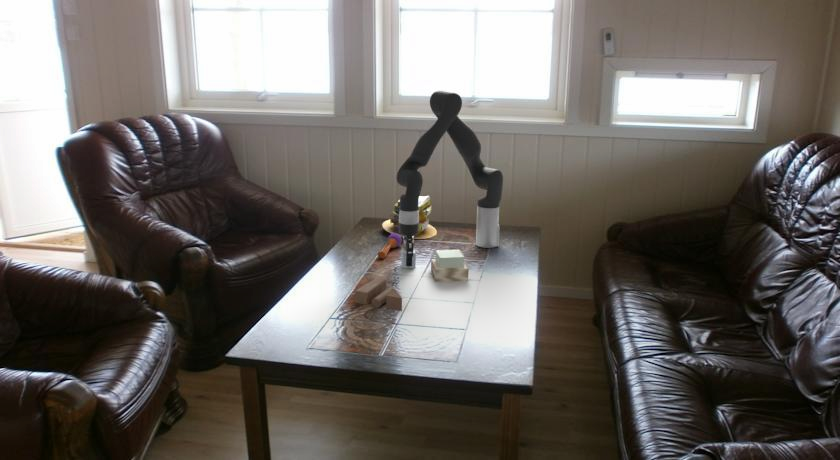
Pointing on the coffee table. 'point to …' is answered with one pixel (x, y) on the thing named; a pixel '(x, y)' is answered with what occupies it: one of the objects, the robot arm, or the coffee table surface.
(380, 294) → the wooden block set
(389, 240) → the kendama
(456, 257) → the tower top
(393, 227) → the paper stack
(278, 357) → the coffee table surface
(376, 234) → the coffee table surface
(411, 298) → the coffee table surface
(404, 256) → the blue block
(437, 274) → the tower base
